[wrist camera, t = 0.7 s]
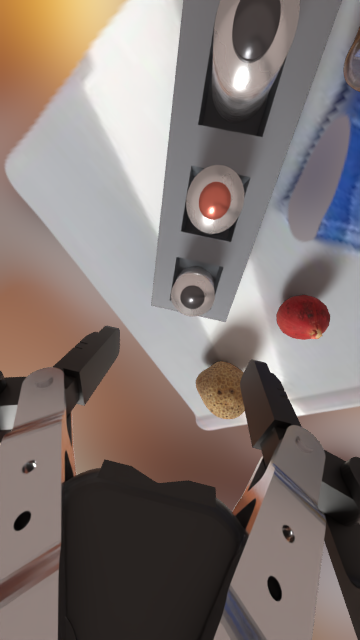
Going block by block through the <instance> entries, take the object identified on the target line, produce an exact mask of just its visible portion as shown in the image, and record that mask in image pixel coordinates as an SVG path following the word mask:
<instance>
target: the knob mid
mask: <svg viewBox="0 0 360 640" xmlns="http://www.w3.org/2000/svg"><path fill="white" fill-rule="evenodd" d="M243 204H244V188H243V184H242V181H241V179H240V177H239V176H238V175H237V173H236V172H235V171H234V170H232V169H231V168H229V167H227V166H224V165H213V166H210V167H207V168H205V169H203V170H202V171H201V172H199V173H198V174H197V175H196V177H195V178H194V179H193V181H192V183H191V185H190V187H189V189H188V193H187V198H186V208H187V213H188V216H189V218H190V220H191V222H192V224H193V225H194V226H195V227H196V228H197V229H199V230H200V231H202V232H205V233H209V234H215V233H220V232H222V231H225V230H226V229H228V228H229V227H230V226H232V225H233V224H234V222H235V221H236V220H237V218H238V217H239V215H240V213H241V211H242V208H243Z"/></svg>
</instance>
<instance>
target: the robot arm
mask: <svg viewBox="0 0 360 640" xmlns="http://www.w3.org/2000/svg"><path fill="white" fill-rule="evenodd" d="M119 349H120V330H119V328H115V327H110V326H105V327H104V328H103V329H102V330H101V331H100V332H99V333H98V332H93V333H91V334H89V335H87V336H86V337H85V338H83V339H82V340H81V341H80V343H78V344H77V345H76V346H75V348H73V349H72V350H71V351H69V352H68V353H67V354H66V355H65V356H64V357H63V358H62V359H61V360H60V361H59V362H58V363H56V364H55V365H54V366H53V367H48V368H43V369H40V370H37V371H35V372H33V373H31V374H30V375H29V376H28V377H9V378H4V376H3V374H2V372H1V371H0V443H1V445H0V640H312V633H313V626H314V617H315V610H316V600H317V593H318V585H319V577H320V569H321V560H322V552H323V544H324V541H325V544H326V547H327V549H328V553H329V556H330V559H331V562H332V564H333V568H334V570H335V573H336V576H337V579H338V582H339V585H340V588H341V591H342V594H343V597H344V600H345V603H346V606H347V609H348V612H349V615H350V618H351V621H352V624H353V627H354V630H355V633H356V635H357V638H358V640H360V458H358V457H353V458H351V459H350V460H348V461H347V462H346V461H344V460H342V459H340V458H338V457H337V456H335V455H333V454H331V453H329V452H327V451H325V450H324V449H323V447H322V445H321V444H320V442H319V441H318V440H317V439H316V437H315V436H314V435H313V434H311V433H310V432H309V431H308V430H306V429H304V428H302V427H301V424H300V422H299V420H298V418H297V416H296V414H295V412H294V409H293V407H292V405H291V403H290V401H289V399H288V397H287V394H286V392H284V388H283V386H282V384H281V382H280V380H279V379H278V378H277V377H276V376H275V375H274V374H273V373H270V371H269V368H268V366H267V364H266V363H265V362H261V361H256V360H251V361H250V362H249V364H248V366H247V368H246V370H245V372H244V374H243V375H242V378H241V381H240V389H241V394H242V399H243V404H244V409H245V414H246V418H247V423H248V428H249V433H250V438H251V443H252V447H253V448H256V449H260V450H262V454H263V456H262V457H261V459H260V461H259V463H258V465H257V467H256V469H255V471H254V473H253V475H252V477H251V479H250V481H249V483H248V485H247V488H246V490H245V492H244V493H243V495H242V497H241V498H240V500H239V501H238V503H237V505H236V506H235V508H234V509H233V511H230V509H229V508H228V507H227V506H226V505H225V504H223V503H222V502H221V501H220V500H219V499H217V498H216V491H215V487H211V486H207V485H203V484H200V483H196V482H192V481H178V482H167V483H157V482H155V481H153V480H152V479H150V478H149V477H147V476H146V475H144V474H142V473H141V472H139V471H138V470H136V469H135V468H133V467H132V466H129V465H124V464H120V463H116V462H112V461H109V460H104V462H103V464H102V467H101V468H96V469H92V470H88V471H86V472H83V473H80V474H78V475H76V465H75V457H74V445H73V422H72V409H73V408H74V407H75V405H76V404H80V405H85V404H86V402H87V401H88V400H89V398H90V397H91V395H92V394H93V392H94V391H95V389H96V388H97V386H98V385H99V383H100V382H101V380H102V379H103V377H104V376H105V374H106V373H107V372H108V370H109V368H110V367H111V366H112V364H113V363H114V361H115V360H116V358H117V356H118V354H119ZM11 430H12V431H11Z"/></svg>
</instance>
